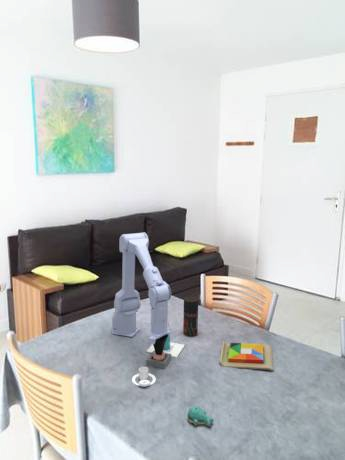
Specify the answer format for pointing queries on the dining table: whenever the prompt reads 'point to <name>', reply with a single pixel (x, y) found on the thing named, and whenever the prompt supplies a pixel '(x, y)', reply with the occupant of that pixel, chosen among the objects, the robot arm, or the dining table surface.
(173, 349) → the pad
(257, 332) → the dining table surface
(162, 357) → the button
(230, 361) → the wooden puzzle
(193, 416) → the whale figurine
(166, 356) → the housing
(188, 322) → the deodorant
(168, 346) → the marker
